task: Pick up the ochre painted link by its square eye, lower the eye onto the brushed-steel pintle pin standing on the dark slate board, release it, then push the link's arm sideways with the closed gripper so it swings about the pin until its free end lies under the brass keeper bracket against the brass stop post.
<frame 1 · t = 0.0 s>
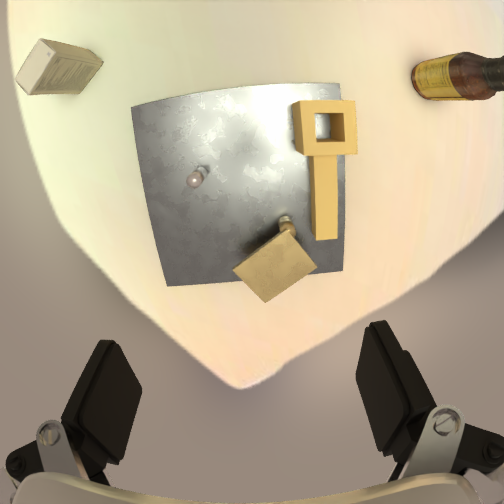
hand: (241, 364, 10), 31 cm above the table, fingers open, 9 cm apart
skincare box: (84, 72, 30), on the table
link: (321, 231, 41), resting on pintle board
pintle board: (245, 167, 37), on the table
sauce bottle: (424, 80, 31), on the table
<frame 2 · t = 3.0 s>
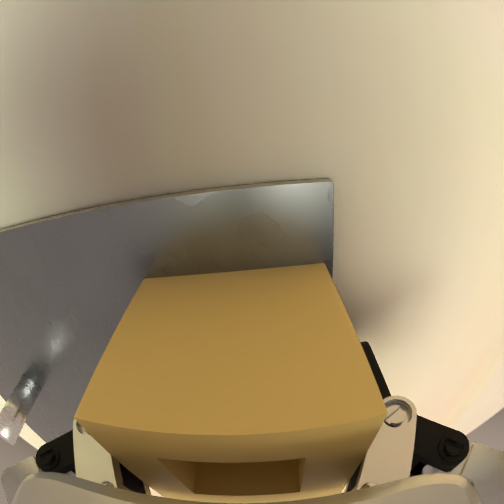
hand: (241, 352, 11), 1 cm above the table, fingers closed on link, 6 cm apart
link: (265, 467, 18), resting on pintle board, touching gripper
pintle board: (93, 392, 14), on the table
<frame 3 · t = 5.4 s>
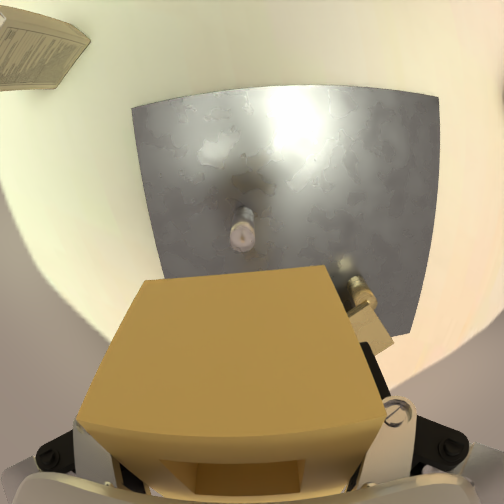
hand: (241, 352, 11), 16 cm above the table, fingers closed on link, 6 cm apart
skincare box: (63, 57, 18), on the table
link: (265, 467, 18), point 16 cm above the table, touching gripper
pintle board: (310, 209, 25), on the table
when the fingers open (2 cm above the table, at t = 7.8 s): link stays where it is, resting on pintle board.
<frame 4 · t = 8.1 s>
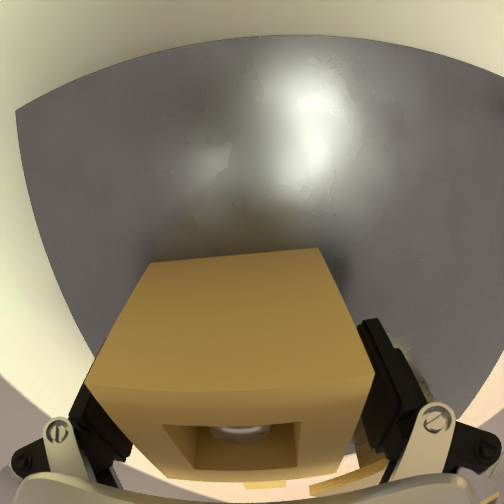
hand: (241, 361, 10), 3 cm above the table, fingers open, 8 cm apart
link: (264, 457, 18), resting on pintle board
pintle board: (372, 303, 12), on the table
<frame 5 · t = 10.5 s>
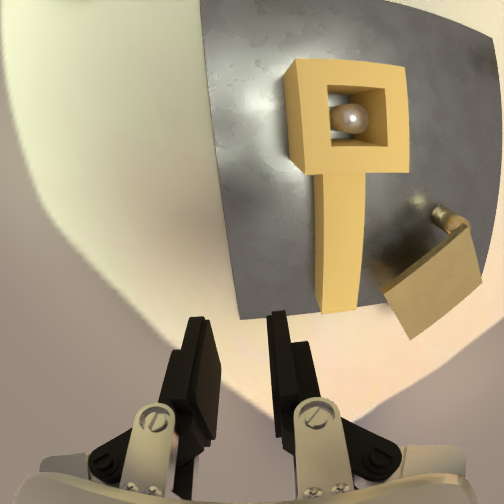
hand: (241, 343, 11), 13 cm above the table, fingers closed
link: (330, 292, 25), resting on pintle board
pintle board: (397, 121, 19), on the table
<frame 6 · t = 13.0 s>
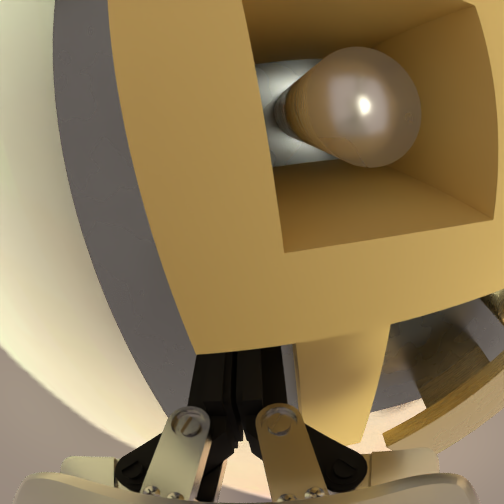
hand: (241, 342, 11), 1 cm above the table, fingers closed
link: (324, 405, 14), point 1 cm above the table, touching gripper, pintle board
pintle board: (446, 120, 8), on the table
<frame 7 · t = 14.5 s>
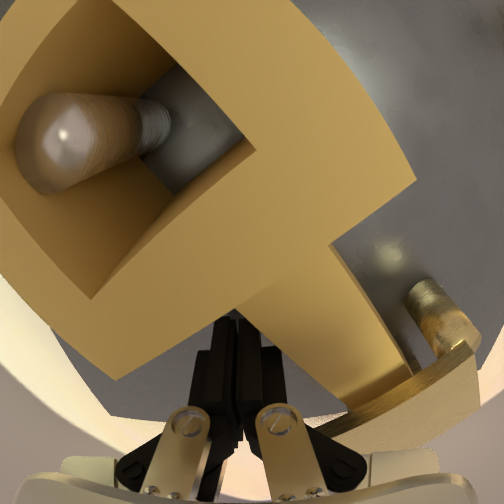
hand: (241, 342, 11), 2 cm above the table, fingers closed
link: (380, 368, 14), resting on pintle board, touching gripper
pintle board: (324, 104, 8), on the table
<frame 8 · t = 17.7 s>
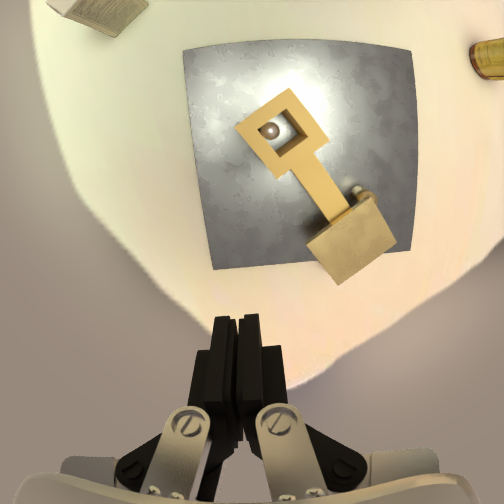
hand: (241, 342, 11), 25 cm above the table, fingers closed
skincare box: (123, 15, 23), on the table
link: (347, 228, 35), resting on pintle board
pintle board: (318, 127, 30), on the table
sauce bottle: (479, 61, 24), on the table
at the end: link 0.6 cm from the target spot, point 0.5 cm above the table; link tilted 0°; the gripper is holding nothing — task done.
